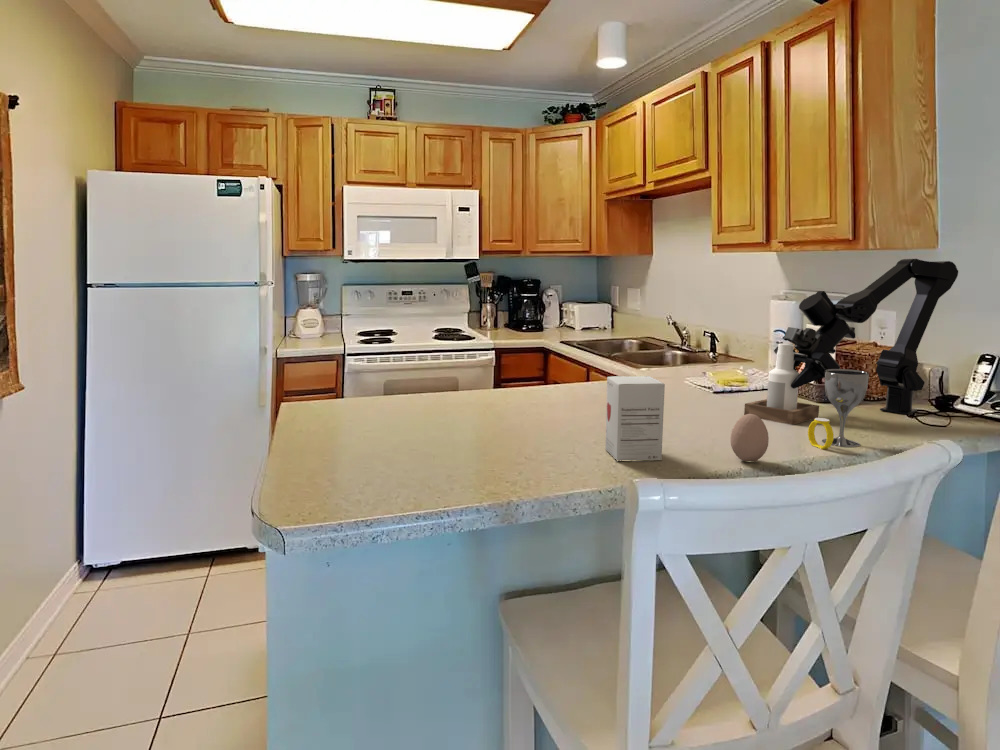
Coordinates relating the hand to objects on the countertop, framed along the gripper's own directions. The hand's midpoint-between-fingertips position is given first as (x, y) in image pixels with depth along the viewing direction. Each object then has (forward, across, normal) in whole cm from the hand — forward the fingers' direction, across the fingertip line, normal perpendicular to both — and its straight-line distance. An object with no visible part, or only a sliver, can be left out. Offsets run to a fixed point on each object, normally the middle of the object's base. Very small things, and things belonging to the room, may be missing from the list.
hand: (781, 384), depth 158 cm
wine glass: (+8, +25, +4) cm, 26 cm away
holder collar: (+6, 0, +6) cm, 8 cm away
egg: (+27, +34, -15) cm, 46 cm away
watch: (+12, +27, -1) cm, 30 cm away
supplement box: (+40, +26, -29) cm, 56 cm away
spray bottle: (+6, 0, +6) cm, 8 cm away
